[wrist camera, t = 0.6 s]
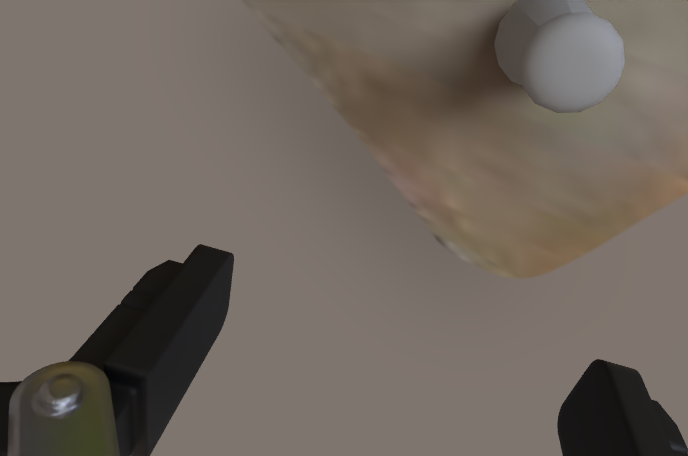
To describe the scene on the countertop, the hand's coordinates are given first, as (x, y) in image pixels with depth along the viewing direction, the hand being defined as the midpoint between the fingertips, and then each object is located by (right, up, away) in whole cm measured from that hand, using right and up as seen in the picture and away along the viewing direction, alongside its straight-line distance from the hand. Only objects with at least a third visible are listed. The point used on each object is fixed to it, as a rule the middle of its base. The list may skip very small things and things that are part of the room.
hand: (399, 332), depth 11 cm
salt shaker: (+12, +15, +22) cm, 29 cm away
